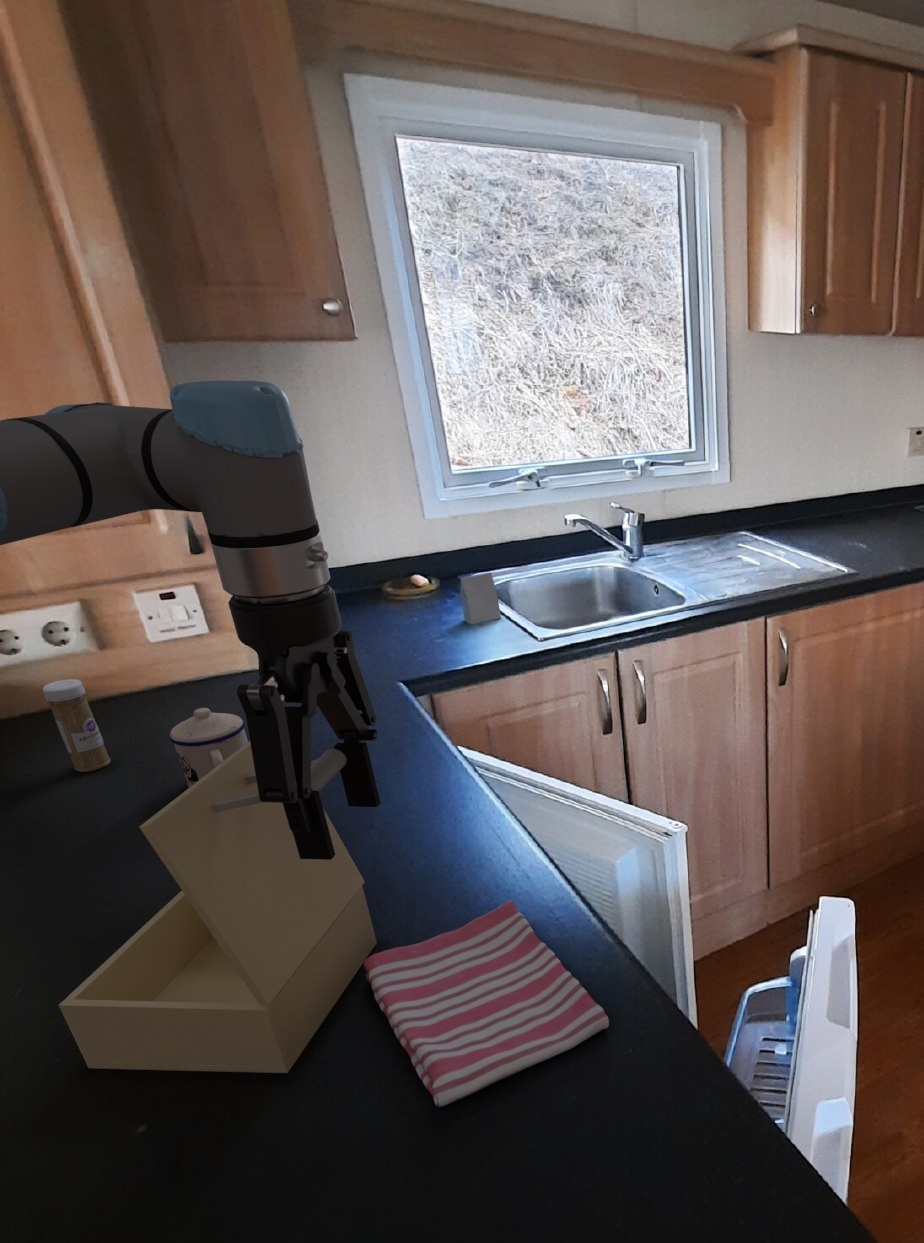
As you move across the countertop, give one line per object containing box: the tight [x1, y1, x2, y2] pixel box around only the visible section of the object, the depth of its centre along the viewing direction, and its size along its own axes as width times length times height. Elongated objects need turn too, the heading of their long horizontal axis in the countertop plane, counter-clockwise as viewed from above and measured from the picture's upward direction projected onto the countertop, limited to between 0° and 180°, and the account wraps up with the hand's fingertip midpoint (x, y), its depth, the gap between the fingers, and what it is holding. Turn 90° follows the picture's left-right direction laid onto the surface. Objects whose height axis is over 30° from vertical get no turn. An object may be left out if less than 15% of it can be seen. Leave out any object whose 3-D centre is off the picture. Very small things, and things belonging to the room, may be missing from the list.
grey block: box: [459, 572, 502, 625], centre depth 194 cm, size 4×7×10 cm, turn 131°
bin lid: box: [139, 740, 365, 1007], centre depth 82 cm, size 19×19×10 cm
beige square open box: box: [58, 885, 378, 1074], centre depth 89 cm, size 19×19×8 cm
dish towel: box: [362, 899, 610, 1108], centre depth 90 cm, size 17×23×4 cm
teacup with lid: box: [169, 707, 249, 788], centre depth 126 cm, size 12×9×12 cm
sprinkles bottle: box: [41, 678, 112, 773], centre depth 130 cm, size 5×5×13 cm
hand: (342, 829), depth 81 cm, fingers open, 8 cm apart
